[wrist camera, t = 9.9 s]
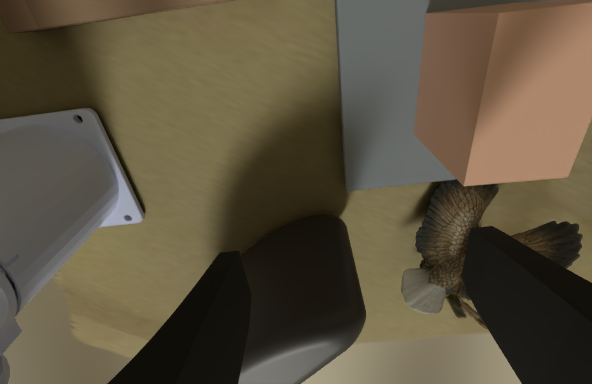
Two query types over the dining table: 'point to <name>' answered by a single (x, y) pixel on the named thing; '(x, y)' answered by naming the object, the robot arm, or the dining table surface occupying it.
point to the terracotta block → (506, 89)
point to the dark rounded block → (300, 301)
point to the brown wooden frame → (80, 11)
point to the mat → (386, 89)
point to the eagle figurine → (454, 240)
